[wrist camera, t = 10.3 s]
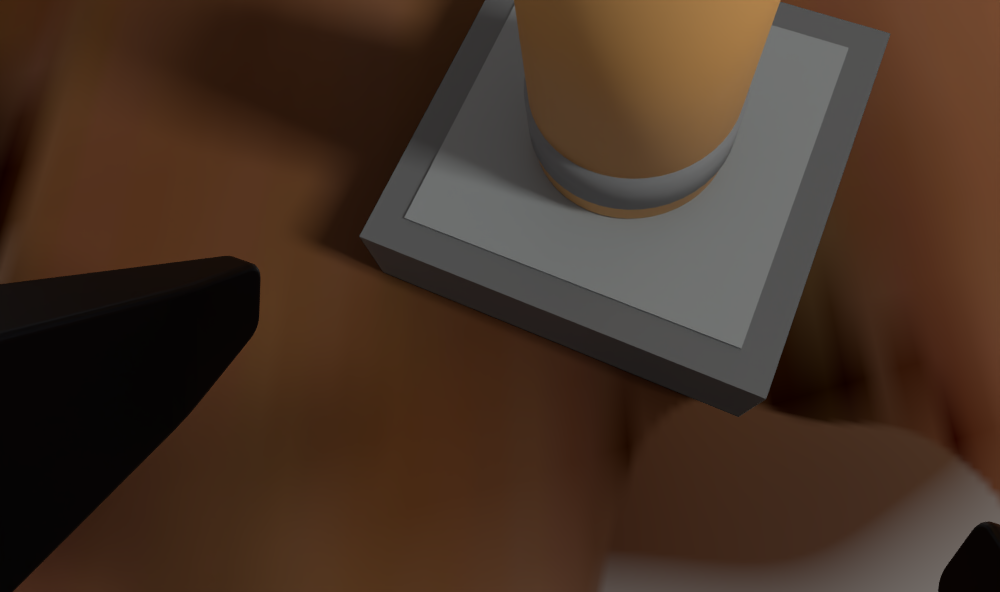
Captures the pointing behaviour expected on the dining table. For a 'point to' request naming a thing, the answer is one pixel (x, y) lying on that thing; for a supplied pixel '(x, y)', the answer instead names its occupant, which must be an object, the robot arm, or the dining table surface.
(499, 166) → the stand
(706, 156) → the housing
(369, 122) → the dining table surface
